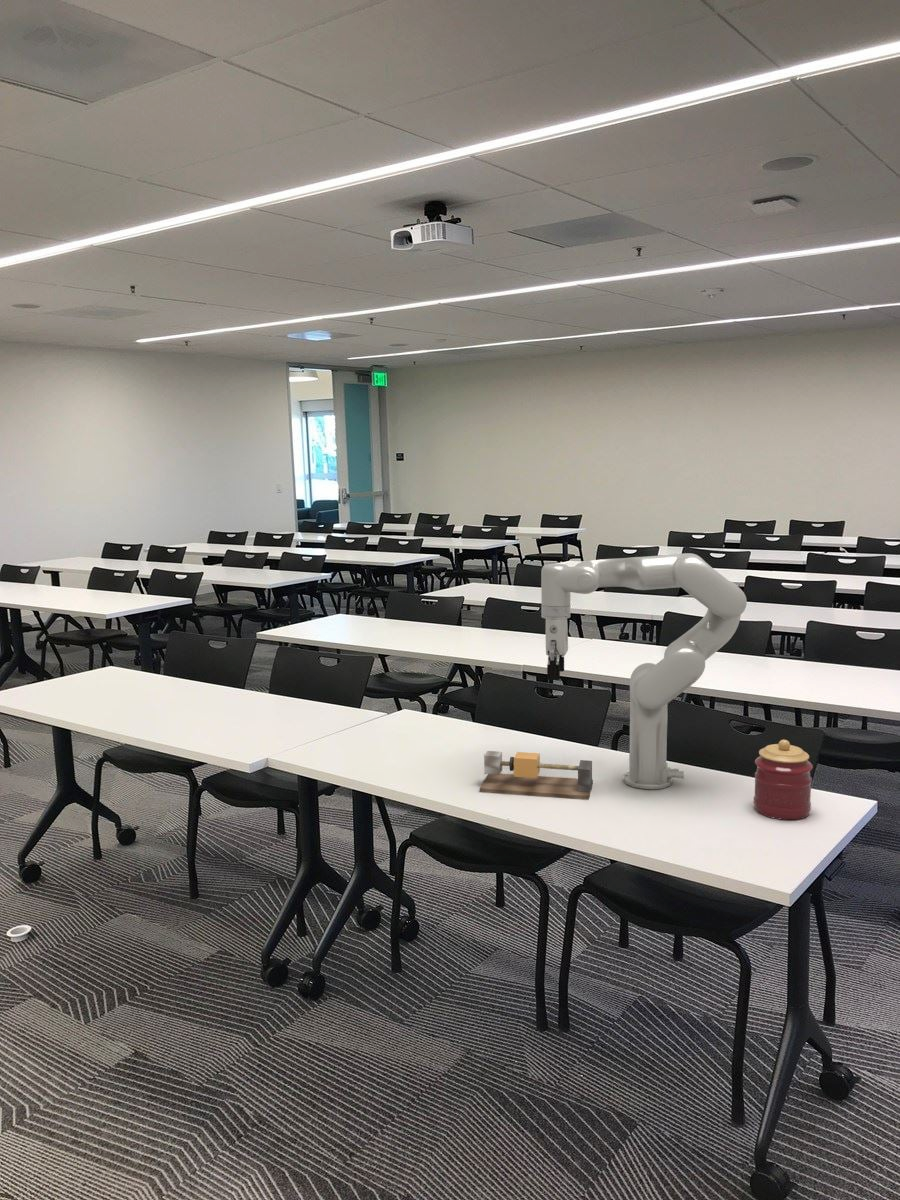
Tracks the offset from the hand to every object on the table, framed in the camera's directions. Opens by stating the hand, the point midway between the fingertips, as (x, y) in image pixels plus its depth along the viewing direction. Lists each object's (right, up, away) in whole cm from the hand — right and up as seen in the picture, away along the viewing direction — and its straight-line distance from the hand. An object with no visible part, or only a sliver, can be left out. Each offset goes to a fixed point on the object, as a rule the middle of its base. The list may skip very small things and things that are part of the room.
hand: (555, 675), depth 238 cm
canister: (+52, -31, -20) cm, 64 cm away
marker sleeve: (-8, -26, -2) cm, 27 cm away
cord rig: (-5, -29, -2) cm, 30 cm away
